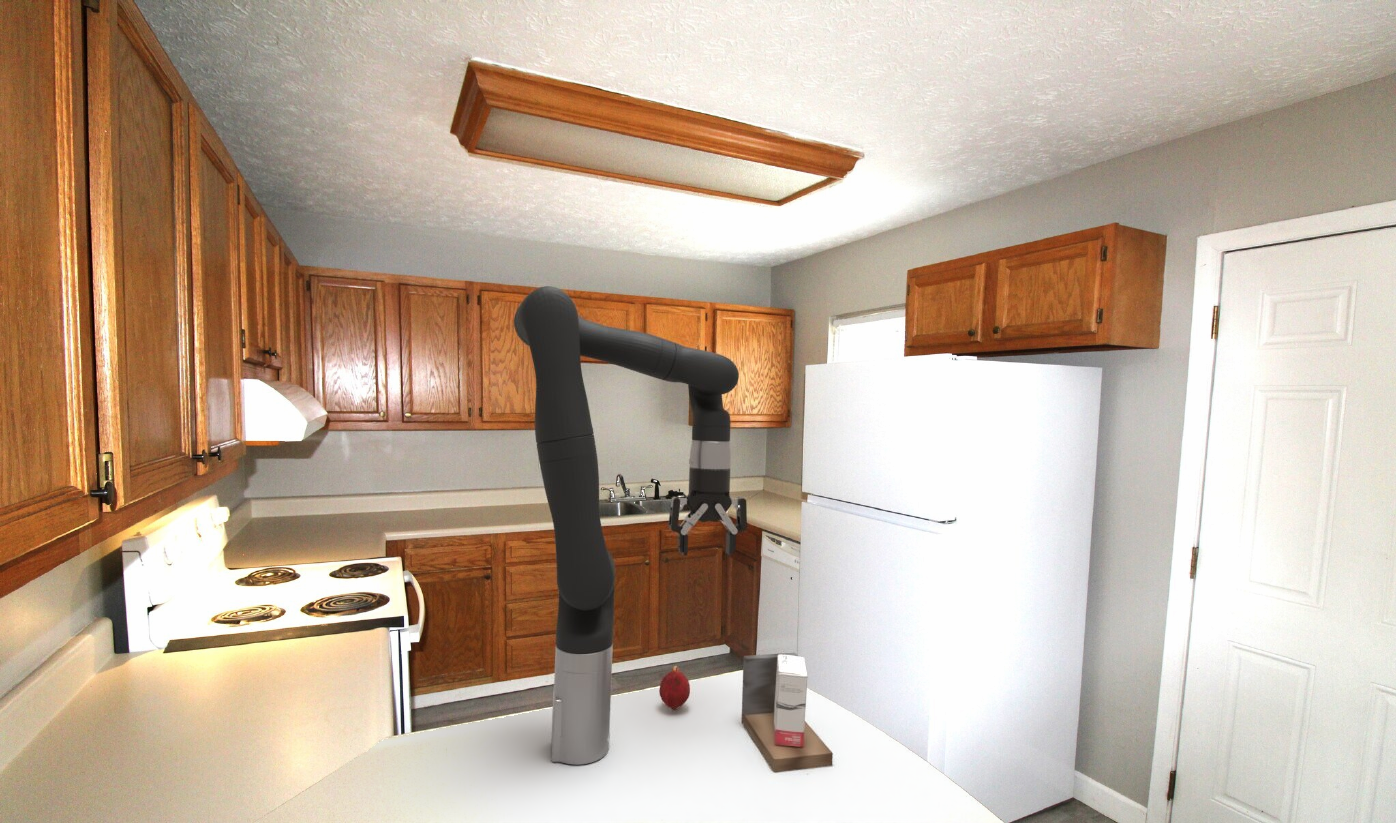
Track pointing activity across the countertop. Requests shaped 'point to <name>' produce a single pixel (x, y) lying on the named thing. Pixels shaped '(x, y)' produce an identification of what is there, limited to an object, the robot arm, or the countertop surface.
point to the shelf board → (761, 719)
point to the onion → (674, 689)
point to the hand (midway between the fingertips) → (706, 554)
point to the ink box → (790, 701)
